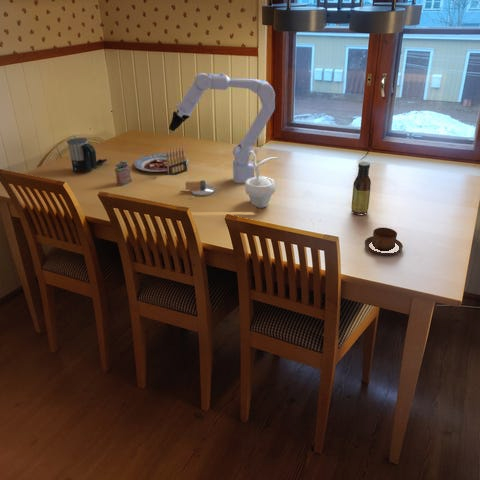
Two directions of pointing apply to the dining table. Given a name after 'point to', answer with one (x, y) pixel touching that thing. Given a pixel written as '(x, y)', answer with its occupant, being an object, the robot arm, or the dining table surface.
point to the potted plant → (259, 185)
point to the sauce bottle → (361, 189)
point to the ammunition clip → (176, 162)
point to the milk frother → (83, 155)
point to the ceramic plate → (153, 163)
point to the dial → (199, 188)
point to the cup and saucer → (383, 241)
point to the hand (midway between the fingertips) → (172, 128)
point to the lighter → (123, 173)
